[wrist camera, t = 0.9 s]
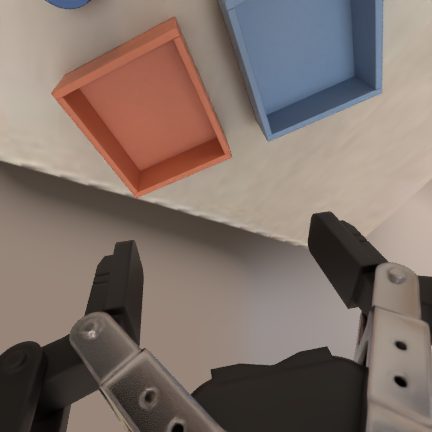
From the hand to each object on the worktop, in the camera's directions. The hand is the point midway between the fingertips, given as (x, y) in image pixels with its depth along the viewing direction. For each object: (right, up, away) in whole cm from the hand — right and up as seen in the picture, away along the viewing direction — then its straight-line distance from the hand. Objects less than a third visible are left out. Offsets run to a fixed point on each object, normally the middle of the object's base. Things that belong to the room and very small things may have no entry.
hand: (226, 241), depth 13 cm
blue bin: (+7, +18, +14) cm, 23 cm away
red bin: (-7, +12, +16) cm, 22 cm away
